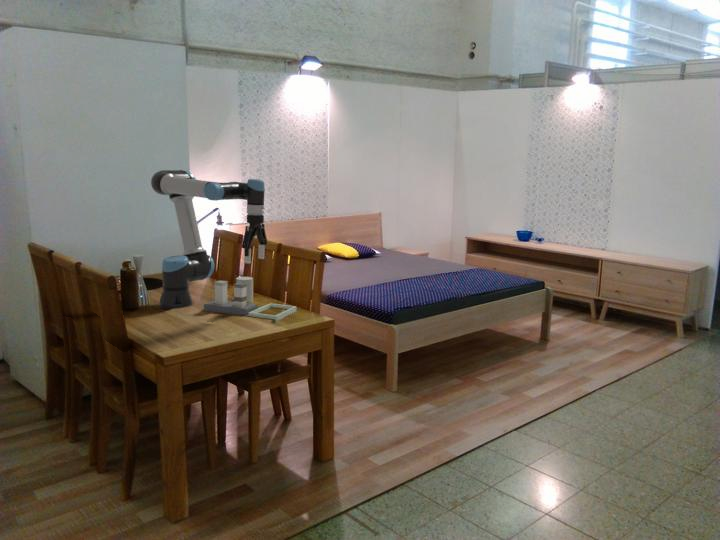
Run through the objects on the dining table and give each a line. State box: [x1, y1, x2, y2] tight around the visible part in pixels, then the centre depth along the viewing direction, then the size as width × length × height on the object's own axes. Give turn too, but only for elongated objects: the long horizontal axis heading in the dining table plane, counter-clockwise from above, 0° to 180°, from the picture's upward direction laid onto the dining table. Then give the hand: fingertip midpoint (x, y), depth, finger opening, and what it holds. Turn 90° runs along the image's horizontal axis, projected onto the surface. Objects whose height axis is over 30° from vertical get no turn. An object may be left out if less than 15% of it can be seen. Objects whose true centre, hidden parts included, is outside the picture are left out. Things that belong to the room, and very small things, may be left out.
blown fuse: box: [233, 283, 247, 307], centre depth 275 cm, size 4×4×13 cm
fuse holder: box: [203, 299, 258, 317], centre depth 278 cm, size 22×10×4 cm, turn 70°
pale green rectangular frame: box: [247, 302, 297, 323], centre depth 276 cm, size 14×20×2 cm
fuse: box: [214, 280, 229, 305], centre depth 279 cm, size 4×4×13 cm
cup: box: [235, 276, 254, 303], centre depth 298 cm, size 8×8×12 cm
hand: (254, 261), depth 275 cm, fingers open, 13 cm apart
